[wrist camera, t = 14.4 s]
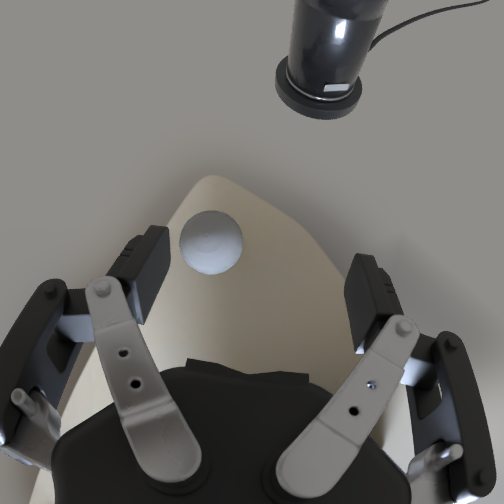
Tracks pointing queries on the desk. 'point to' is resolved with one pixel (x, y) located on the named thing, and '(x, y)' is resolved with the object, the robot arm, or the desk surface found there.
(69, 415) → the desk surface
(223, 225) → the light bulb
